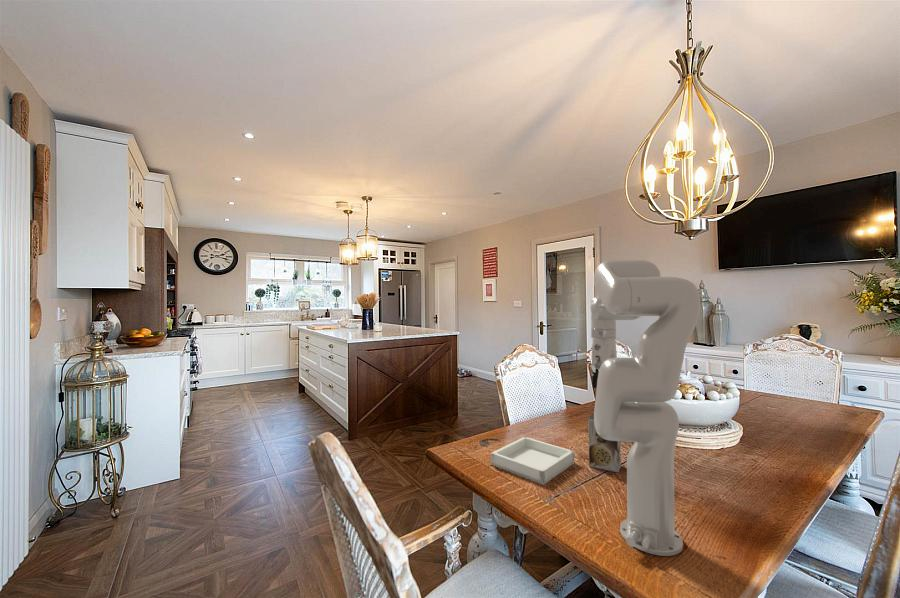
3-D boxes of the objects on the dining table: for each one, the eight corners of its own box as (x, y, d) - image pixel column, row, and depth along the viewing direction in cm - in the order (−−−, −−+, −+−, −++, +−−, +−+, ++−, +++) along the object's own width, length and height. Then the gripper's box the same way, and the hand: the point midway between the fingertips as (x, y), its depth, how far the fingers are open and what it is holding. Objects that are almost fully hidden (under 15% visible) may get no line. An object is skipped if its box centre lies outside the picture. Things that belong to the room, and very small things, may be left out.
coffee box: (621, 465, 121) (620, 416, 121) (618, 473, 116) (618, 422, 116) (592, 459, 126) (591, 412, 126) (588, 466, 120) (587, 417, 121)
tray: (543, 485, 108) (542, 471, 109) (491, 465, 122) (490, 453, 122) (574, 463, 123) (574, 451, 123) (524, 447, 137) (524, 436, 137)
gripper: (604, 336, 112) (605, 392, 112) (624, 332, 125) (624, 382, 125) (581, 335, 118) (581, 388, 118) (602, 331, 130) (602, 379, 130)
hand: (603, 385), depth 121 cm, fingers open, 9 cm apart
